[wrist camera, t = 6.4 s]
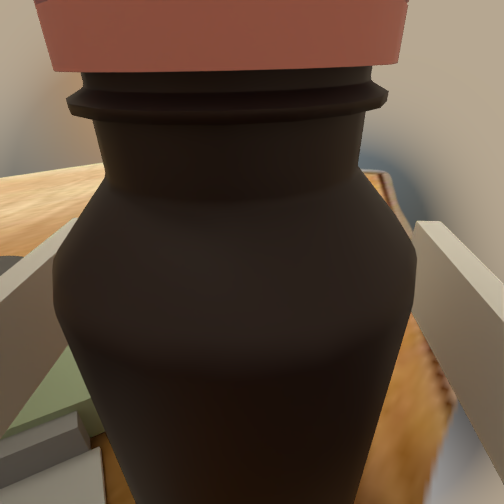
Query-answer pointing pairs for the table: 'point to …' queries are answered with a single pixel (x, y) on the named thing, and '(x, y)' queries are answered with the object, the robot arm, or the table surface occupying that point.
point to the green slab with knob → (53, 440)
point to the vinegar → (232, 243)
